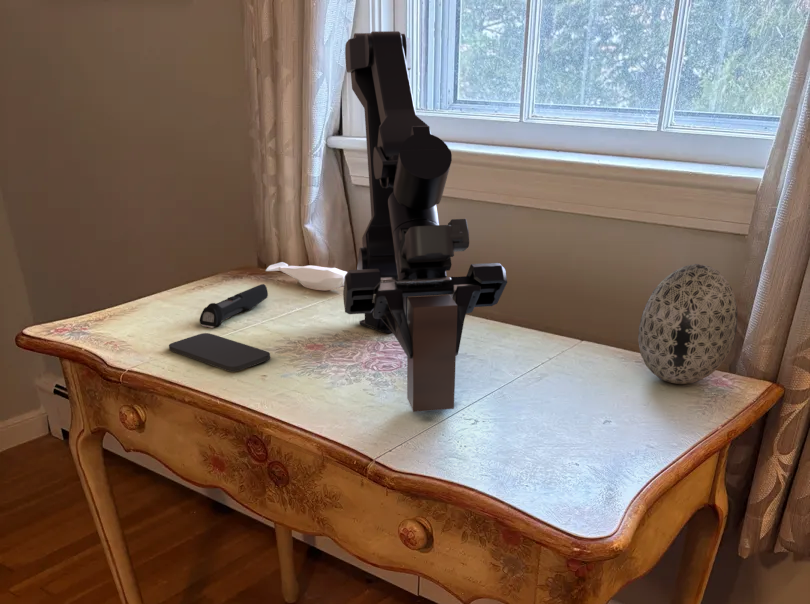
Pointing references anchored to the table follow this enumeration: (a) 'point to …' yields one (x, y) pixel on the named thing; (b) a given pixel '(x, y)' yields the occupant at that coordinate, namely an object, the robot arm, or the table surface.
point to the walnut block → (431, 352)
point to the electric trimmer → (232, 306)
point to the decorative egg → (688, 325)
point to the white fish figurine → (313, 275)
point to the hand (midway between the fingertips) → (433, 355)
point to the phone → (219, 352)
